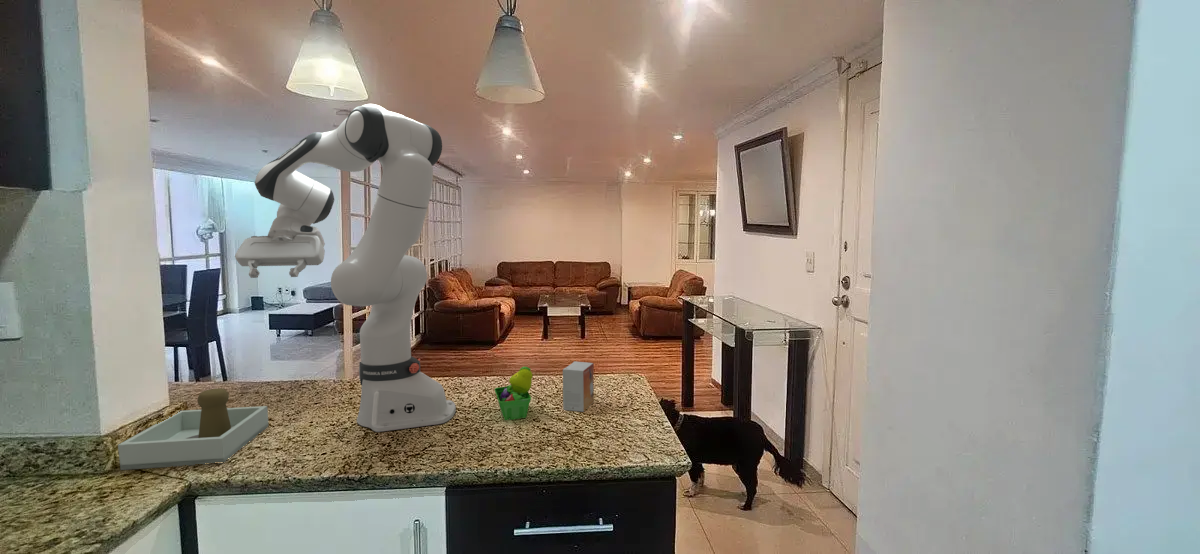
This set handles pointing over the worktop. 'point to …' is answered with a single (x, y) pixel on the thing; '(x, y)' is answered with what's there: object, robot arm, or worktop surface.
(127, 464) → the grey square tray
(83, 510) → the worktop surface
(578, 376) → the small box
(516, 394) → the fruit basket
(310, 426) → the worktop surface
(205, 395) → the cork
